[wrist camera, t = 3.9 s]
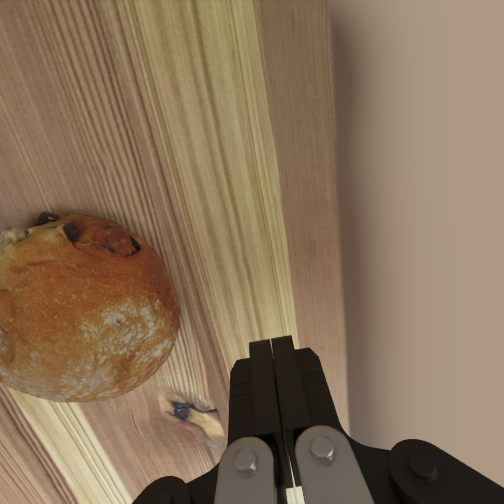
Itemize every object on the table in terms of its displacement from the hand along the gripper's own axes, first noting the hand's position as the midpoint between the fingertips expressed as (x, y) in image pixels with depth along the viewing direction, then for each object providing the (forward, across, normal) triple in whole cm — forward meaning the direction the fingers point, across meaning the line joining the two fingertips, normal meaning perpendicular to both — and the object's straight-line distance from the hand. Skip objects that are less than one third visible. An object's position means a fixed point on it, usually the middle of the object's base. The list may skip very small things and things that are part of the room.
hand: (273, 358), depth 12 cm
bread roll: (+8, +10, 0) cm, 13 cm away
